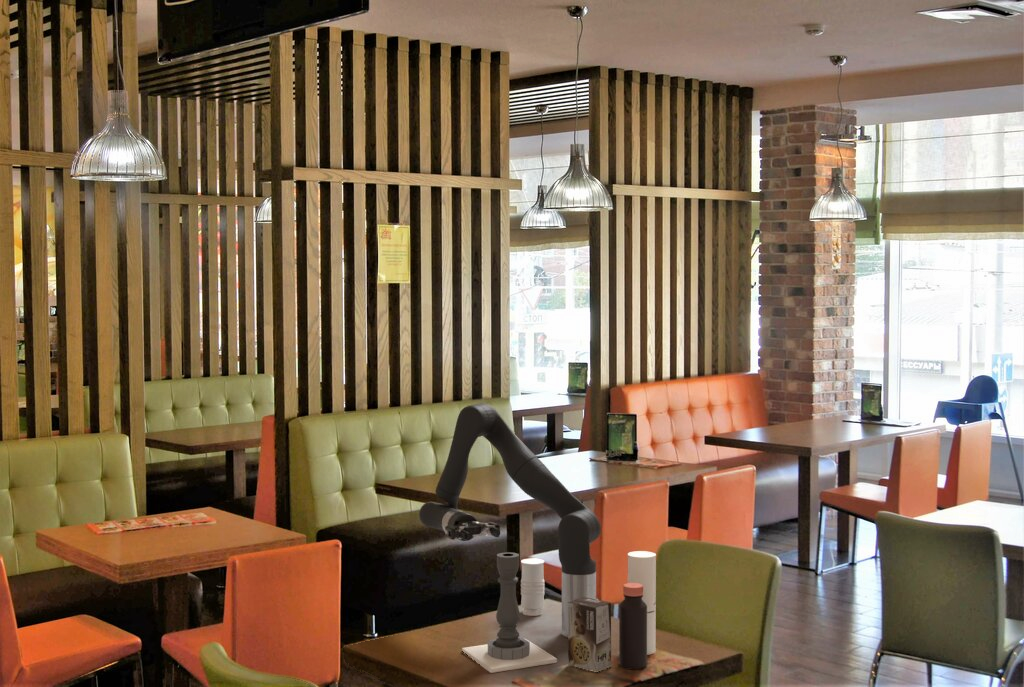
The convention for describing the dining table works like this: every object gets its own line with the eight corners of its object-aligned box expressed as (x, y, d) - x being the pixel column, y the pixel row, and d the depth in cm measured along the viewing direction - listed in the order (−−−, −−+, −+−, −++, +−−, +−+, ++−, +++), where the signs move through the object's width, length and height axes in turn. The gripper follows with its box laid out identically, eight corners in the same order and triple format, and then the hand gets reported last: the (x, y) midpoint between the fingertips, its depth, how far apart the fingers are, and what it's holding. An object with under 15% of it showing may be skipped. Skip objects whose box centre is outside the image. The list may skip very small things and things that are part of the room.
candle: (549, 612, 326) (549, 561, 325) (533, 617, 321) (533, 565, 320) (532, 608, 331) (532, 557, 330) (515, 613, 326) (515, 561, 325)
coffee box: (612, 667, 278) (612, 602, 278) (596, 673, 273) (596, 607, 273) (583, 659, 284) (583, 595, 284) (567, 665, 280) (567, 601, 279)
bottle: (629, 671, 275) (629, 590, 274) (613, 663, 281) (614, 583, 280) (652, 667, 278) (652, 586, 277) (636, 659, 284) (637, 580, 283)
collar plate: (525, 642, 298) (525, 629, 298) (556, 662, 282) (556, 648, 282) (462, 651, 290) (462, 638, 290) (490, 672, 274) (490, 658, 274)
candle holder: (517, 657, 283) (517, 558, 282) (493, 655, 284) (493, 557, 283) (522, 649, 289) (522, 552, 288) (498, 648, 290) (498, 551, 289)
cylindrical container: (659, 648, 293) (659, 552, 292) (650, 656, 286) (650, 558, 285) (632, 644, 296) (633, 550, 295) (623, 652, 289) (624, 555, 288)
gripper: (435, 513, 309) (457, 523, 294) (483, 508, 315) (507, 518, 300) (435, 541, 309) (458, 552, 294) (483, 535, 315) (508, 546, 300)
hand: (483, 535), depth 297 cm, fingers open, 8 cm apart
